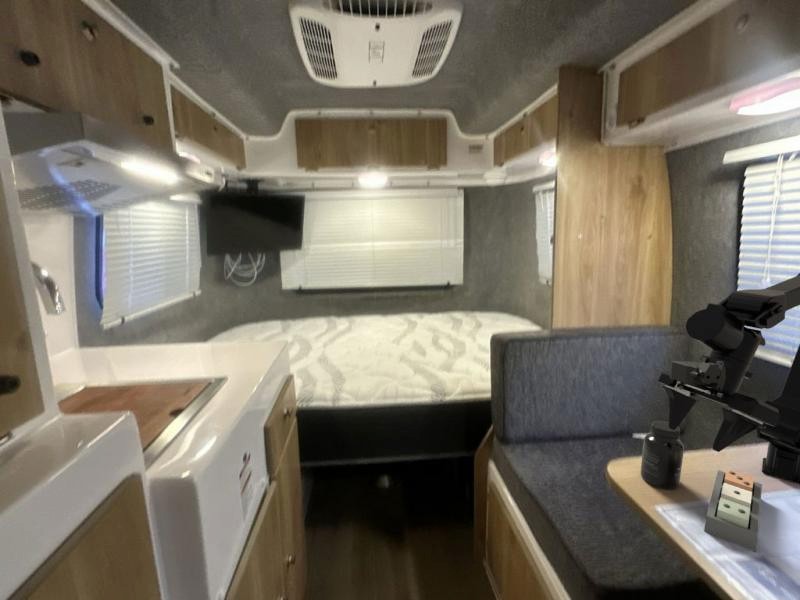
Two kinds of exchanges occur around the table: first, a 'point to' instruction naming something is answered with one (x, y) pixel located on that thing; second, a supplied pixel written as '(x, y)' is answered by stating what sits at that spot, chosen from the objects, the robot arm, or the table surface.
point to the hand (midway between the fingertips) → (692, 439)
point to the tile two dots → (733, 513)
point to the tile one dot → (736, 495)
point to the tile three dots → (739, 480)
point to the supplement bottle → (662, 456)
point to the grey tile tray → (729, 529)
